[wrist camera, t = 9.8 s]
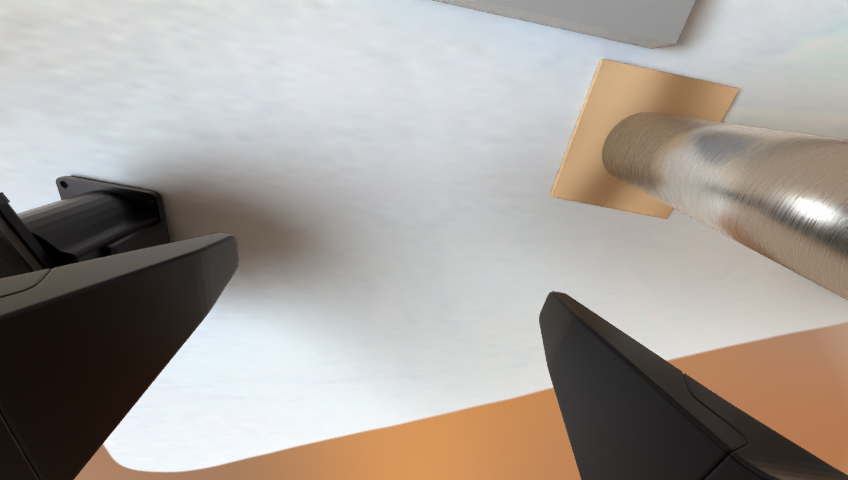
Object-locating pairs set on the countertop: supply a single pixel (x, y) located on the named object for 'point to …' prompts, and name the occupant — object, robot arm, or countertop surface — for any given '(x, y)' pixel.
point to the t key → (745, 186)
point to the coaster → (611, 103)
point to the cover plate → (598, 17)
